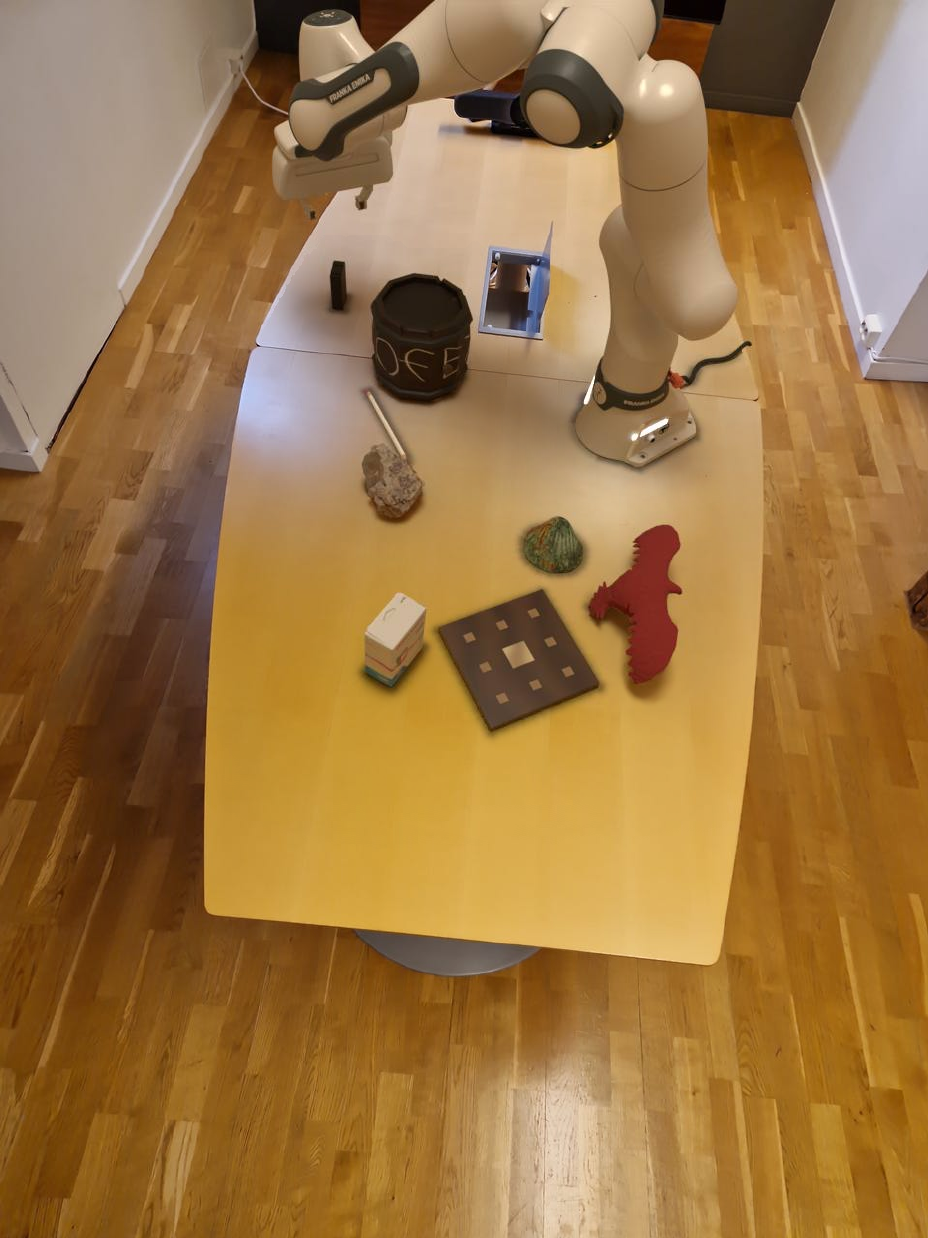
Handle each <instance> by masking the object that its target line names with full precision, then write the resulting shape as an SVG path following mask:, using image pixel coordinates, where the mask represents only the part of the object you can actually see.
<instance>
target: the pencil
mask: <svg viewBox="0 0 928 1238" xmlns="http://www.w3.org/2000/svg"><path fill="white" fill-rule="evenodd" d="M365 394H366V395H367V397H368V399H369V401H370V403H371V404H372V406H373V408H374V410H375V412H376V413H377V415H378V417H379V418H380V420H381V423H382V425H383V426H384V427H385V430H386V432H387V433H388V435H389V436H390V439H391V440H392V442H393V444H394V446H395V448H396V449H397V451H398V453H399V454H400V455H399V456H404V457H406V458H407V454H406V453H405V451H404V450H403V449H404V448H403V447H402V446H401V444H400V442H399V440H398V439H397V437H396V434H395V433H394V431H393V430H392V428H391V426H390V424H389V422H388V420H387V419H386V417H385V416H384V413H383V412H382V410H381V408H380V406H379V405H378V403H377V401H376V399H375V398H374V396H373V394H372V392H371V391H370V389H368V388H367V389H366V390H365Z"/></svg>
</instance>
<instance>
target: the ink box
mask: <svg viewBox="0 0 928 1238" xmlns="http://www.w3.org/2000/svg"><path fill="white" fill-rule="evenodd" d="M426 616H427V606H425V605H423V604H421V603H420V602H418V601H416V600H414V599H412V598H411V597H410V596H408V595H406V594H405V593H403V592H400V591H399V592H397V593H395V594H394V596H393V597H392V598H391V599H390V600H389V602H388V603H387V604H386V605H385V606H384V607H383V609H382V610H381V611H380V612H379V614H378V615H377V616H376V617H375V618H374V620H373V621H372V622H371V623H370V624H369V625H368V626H367V627H366V631H365V632H364V672H365V673H366V674H367V675H368V676H370V677H372V678H374V679H375V680H377V681H379V682H381V683H382V684H384V685H385V686H388V687H390V688H392V687H393V686H394V685H395V684H396V682H397V681H398V680H399V678H400V677H401V676H402V675H403V673H404V672H405V670H406V669H407V668H408V667H409V665H410V664H411V663H412V661H414V659H415V658H416V657H417V655H418V654H419V652H421V650H422V649H423V647H424V646H423V644H424V635H425V624H426V618H427V617H426Z"/></svg>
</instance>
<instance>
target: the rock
mask: <svg viewBox="0 0 928 1238" xmlns="http://www.w3.org/2000/svg"><path fill="white" fill-rule="evenodd" d="M361 469H362V474H363V475H364V477H365V485H366V489H367V491H368V492H367V495H368V496H369V498H372V499H373V500H374V503H375V504H376V509H377V512H378V513H379V514H380V515H382V516H385V517H389V518H390V519H391V518H393V519H397V518H401V517H402V516H403V515H404V513H406V512H409V510H410V509H411V507H412V506H413V505H414V504H416V502H417V500H418V499H419V497H420V496H421V495H422V494H423V488H424V487H425V485H426V483H425V481H424V480H422V479H421V478H420V477H419V475H418V474H417V470H415V469H414V468H413V465H412V464H411V463H409V460H408V458H407V456H406V457H404V456H401V455H399V454H398V453H396V451H395V450H393V449H391V448H390V447H389V446H388V445H387V444H385V443H383V442H382V443H380V444H373V445H371V447H370V451H369V452H367V453H366V454H365V455H364V456H363V460H362V462H361Z"/></svg>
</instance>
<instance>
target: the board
mask: <svg viewBox="0 0 928 1238" xmlns="http://www.w3.org/2000/svg"><path fill="white" fill-rule="evenodd" d="M437 631H438V633H439V635H440V637H441V639H442V642H443V643H444V645H445V647H446V649H447V651H448V653H449V654H450V656H451V658H452V660H453V663H454V665H455V667H456V668H457V670H458V672H459V673H460V675H461V678H462V680H463V682H464V684H465V685H466V687H467V690H468V691H469V693H470V695H471V697H472V699H473V700H474V703H475V705H476V706H477V709H478V711H479V713H480V714H481V716H482V718H483V720H484V722H485V724H486V726H487V727H488V730H489V732H492V731H494V730H497V729H499V728H503V727H504V726H508V724H511V723H513V722H516V721H519V720H521V719H524V718H526V717H528V716H531V715H534V714H535V713H538V712H540V711H543V710H545V709H547V708H550V707H552V706H555V705H557V704H560V703H562V702H565V701H568V700H569V699H571V698H574V697H576V696H579V695H582V694H584V693H586V692H588V691H591V690H594V689H596V688H598V687H599V686H600V681H599V679H598V678H597V676H596V675H595V673H594V671H593V670H592V667H591V666H590V664H589V663H588V661H587V660H586V658H585V656H584V655H583V652H581V650H580V648H579V647H578V645H577V643H576V642H575V640H574V638H573V636H572V635H571V633H570V632H569V629H568V628H567V627H566V625H565V623H564V622H563V620H562V618H561V617H560V616H559V613H558V612H557V610H556V608H555V607H554V605H553V604H552V602H551V600H550V599H549V597H548V595H547V594H546V592H545V591H544V589H543V588H542V589H538V590H536V591H533V592H530V593H528V594H525V595H523V596H520V597H519V596H518V597H517V598H514V599H511V600H509V601H507V602H504V603H501V604H498V605H495V606H492V607H490V608H487V609H483V610H482V611H478V612H477V613H474V614H471V615H468V616H466V617H462V618H460V619H456V620H453V621H452V622H449V623H446V624H443V625H440V626H439V627H438V630H437Z"/></svg>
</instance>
